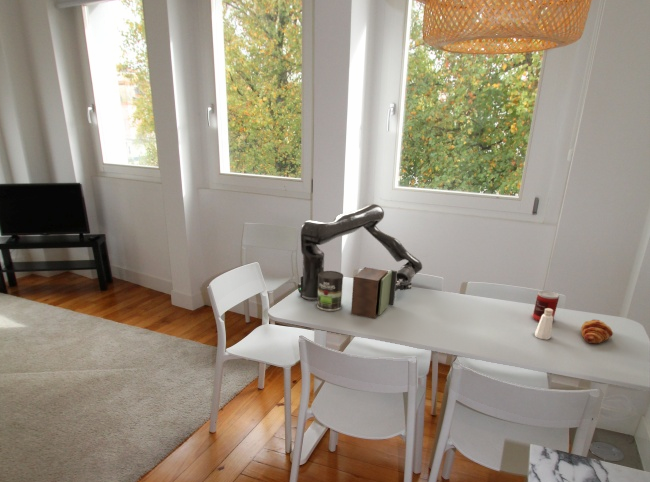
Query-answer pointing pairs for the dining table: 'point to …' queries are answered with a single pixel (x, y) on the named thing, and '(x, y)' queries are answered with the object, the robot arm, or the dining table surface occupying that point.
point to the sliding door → (387, 291)
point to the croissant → (596, 331)
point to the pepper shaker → (545, 325)
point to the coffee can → (329, 290)
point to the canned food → (545, 303)
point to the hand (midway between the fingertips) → (392, 289)
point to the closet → (367, 292)
